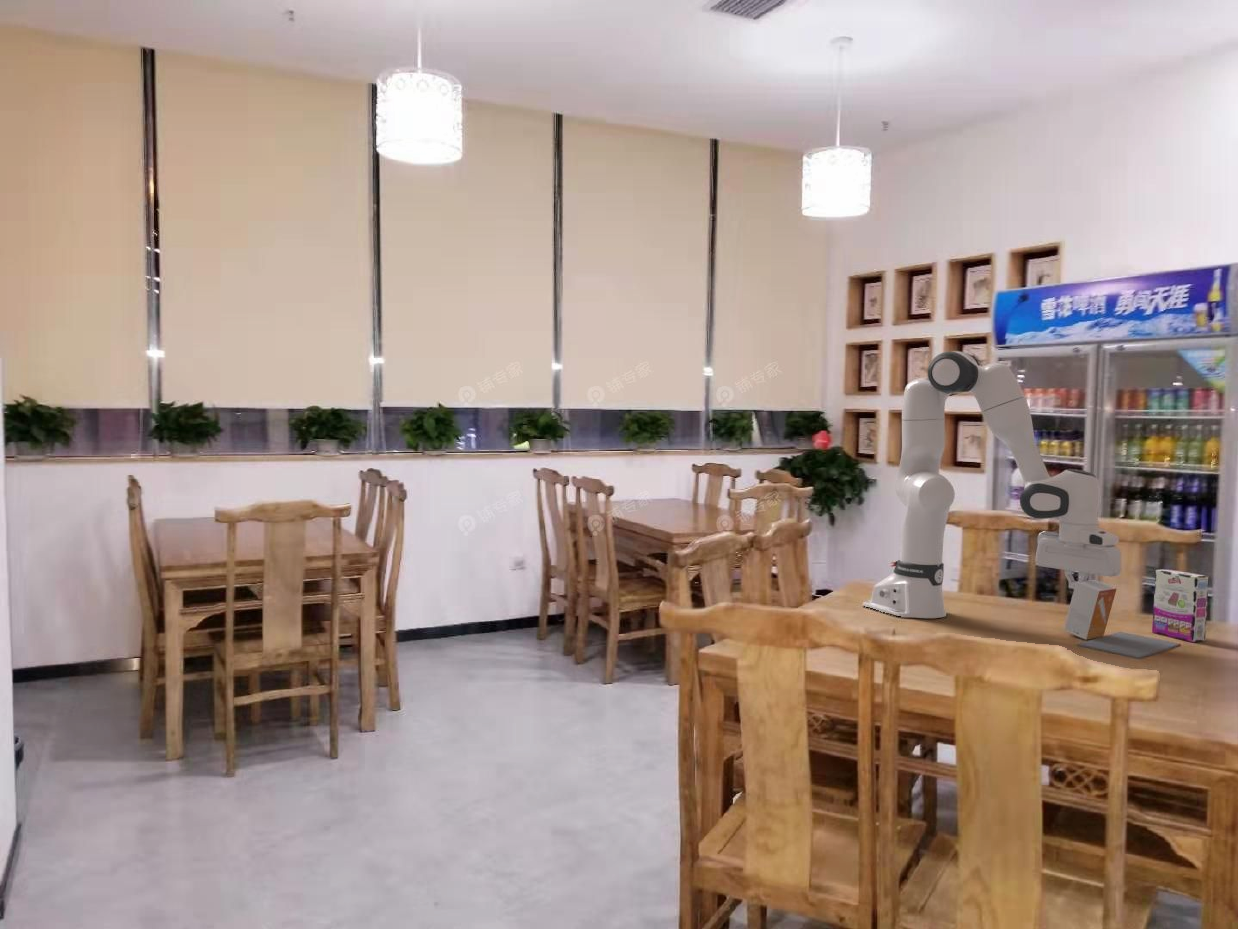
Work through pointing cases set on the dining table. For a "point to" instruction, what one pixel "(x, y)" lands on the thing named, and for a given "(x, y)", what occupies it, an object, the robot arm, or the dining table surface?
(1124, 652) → the mat
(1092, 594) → the small box
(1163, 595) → the candy bar box
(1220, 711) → the dining table surface
